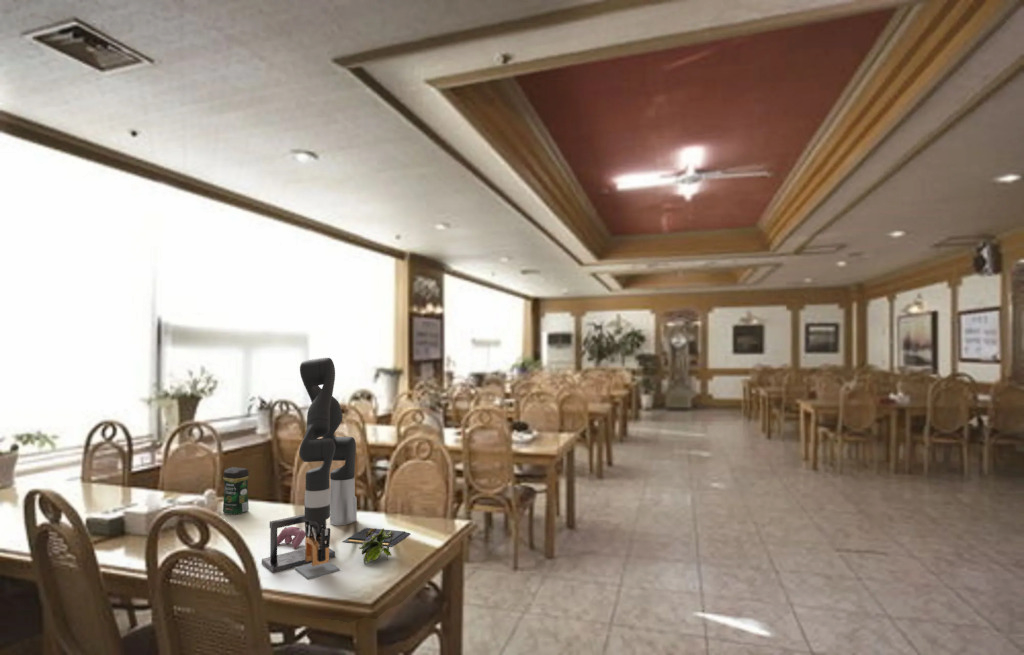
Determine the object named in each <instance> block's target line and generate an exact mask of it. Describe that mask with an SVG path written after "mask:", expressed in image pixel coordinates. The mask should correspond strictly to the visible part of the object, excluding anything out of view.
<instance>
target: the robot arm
mask: <svg viewBox="0 0 1024 655" xmlns="http://www.w3.org/2000/svg"><path fill="white" fill-rule="evenodd" d="M299 373H300V378H301V380H302V383H303V385H304V388H305V390H306V392H307V394H308V396H309V397H308V398H310V402H311V404H310V406H309V407H308V409H307V414H306V430H305V434H304V436H303V439H302V441H301V444H300V446H299V452H298V453H299V457H300V459H301V460H302V461H303V462H305V463H315V462H323V463H322V464H321V465H320V466H318V467H314V468H311V469H308V470H307V471H306V473H305V492H304V514H305V517H304V518H305V520H306V521H305V522H304V531H305V537H313V536H314V539H315V541H316V542H317V547H318V561H319V562H321V561H325V559H326V548H328V547H329V548H330V544H331V543H330V542H331V541H330V540H331V528H330V527H328V528H327V524H326V525H325V520H326V521H327V520H328V519H329V523H330V525H333V526H344V525H345V526H346V525H349V524H352V523H355V522H357V520H358V519H357V517H358V514H357V511H358V510H357V509H358V506H357V504H358V503H357V501H358V500H357V499H358V498H357V496H355V489H356V488H355V486H356V484H355V483H356V482H355V478H356V477H355V474H356V470H355V469H356V453H357V452H356V451H357V445H356V444H357V443H356V439H355V437H353V436H336V435H335V433H336V431H337V430H338V429H339V427H340V425H341V424H342V421H343V416H344V415H343V412H342V408H341V404H340V402H339V401H338V399H336V398H335V397H334V396H333V393H334V387H335V380H336V368H335V364H334V361H333V359H332V358H330V357H322V358H321V357H320V358H313V359H306V360H304V361H302V362H301V364H300V366H299ZM321 386H322V387H321ZM333 461H336V462H337V461H342V462H343V461H344V464H343V465H342V466H341V467H338V468H335V469H333V470H331V467H332V462H333ZM319 537H321V538H319ZM326 541H327V542H326ZM323 542H324V544H323Z"/></svg>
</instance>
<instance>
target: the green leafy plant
mask: <svg viewBox="0 0 1024 655" xmlns="http://www.w3.org/2000/svg"><path fill="white" fill-rule="evenodd" d="M376 529H377V528H374V529H371V531H367V532H366V537H368V536H369V537H368V538H367V539H365V541H363V542H362V544H361V546H360V547H358V549H359V550H361V555H364V556H363V564H364V565H366V563H367V564H369V562H371V561H376V560H377V559H379V557H380V556H381V555H382V554H383V553H384V554H385V555H386V559H387V561H389V556H390V557H391V556H392V552H390V547H389V546H390V543H391V540H392V538H393V535H394V533H393V531H392V532H391V531H390V532H389V533H387V534H389V535H386V530H387V529H385V528H381V529H382V530H381V531H380V530H379V531H377V532H376V533H374V532H375V531H376ZM372 533H374V534H372ZM391 533H392V534H391ZM370 535H371V536H370ZM391 537H392V538H391ZM387 538H391V540H390V543H389V546H388V547H385V546H382V544H383V542H385V539H387Z"/></svg>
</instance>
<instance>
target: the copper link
mask: <svg viewBox="0 0 1024 655" xmlns="http://www.w3.org/2000/svg"><path fill="white" fill-rule="evenodd" d="M319 538H321V537H319ZM304 540H305V541H304V544H305V545H304V548H305V561H306V562H308V561H311V560H312V566H316V565H320V564H323V563H327V562H330V558H329V548H330V546H329V547H328V548H326V559H325V561H321V562H319V561H318V547H317V542H316V541H315V539H314V536H313V537H306V536H305V538H304ZM326 542H327V541H326ZM323 544H324V542H323Z"/></svg>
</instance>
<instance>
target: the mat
mask: <svg viewBox="0 0 1024 655" xmlns="http://www.w3.org/2000/svg"><path fill="white" fill-rule="evenodd" d="M294 570H295V571H296V572H297V573H299V574H300V575H301V576H302V577H304V578H305V579H306V580H311V579H313V578H317V577H320V576H324V575H328V574H330V573H335V572H338V571H340V567H339V566H337V565H335V564H334V563H332V562H331V561H329V562H327V563H323V564H320V565H316V566H312V563H308V564H305V565H301V566H297V567H294ZM310 578H311V579H310Z"/></svg>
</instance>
